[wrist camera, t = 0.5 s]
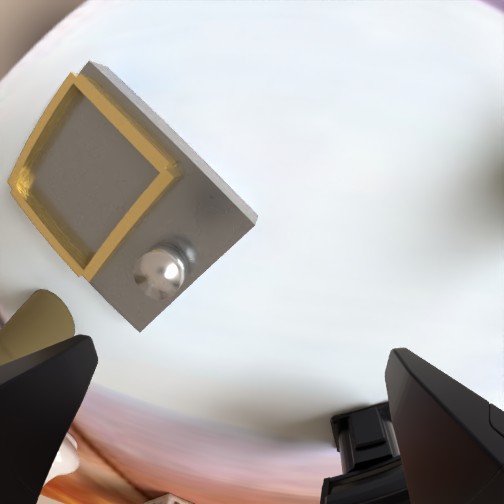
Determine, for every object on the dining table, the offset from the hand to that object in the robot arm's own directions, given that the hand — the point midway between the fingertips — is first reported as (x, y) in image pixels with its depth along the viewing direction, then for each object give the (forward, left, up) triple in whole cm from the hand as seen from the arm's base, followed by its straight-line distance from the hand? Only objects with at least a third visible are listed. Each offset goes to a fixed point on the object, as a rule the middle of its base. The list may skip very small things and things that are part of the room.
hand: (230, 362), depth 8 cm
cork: (-3, +22, -14) cm, 26 cm away
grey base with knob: (+5, +9, -14) cm, 17 cm away
